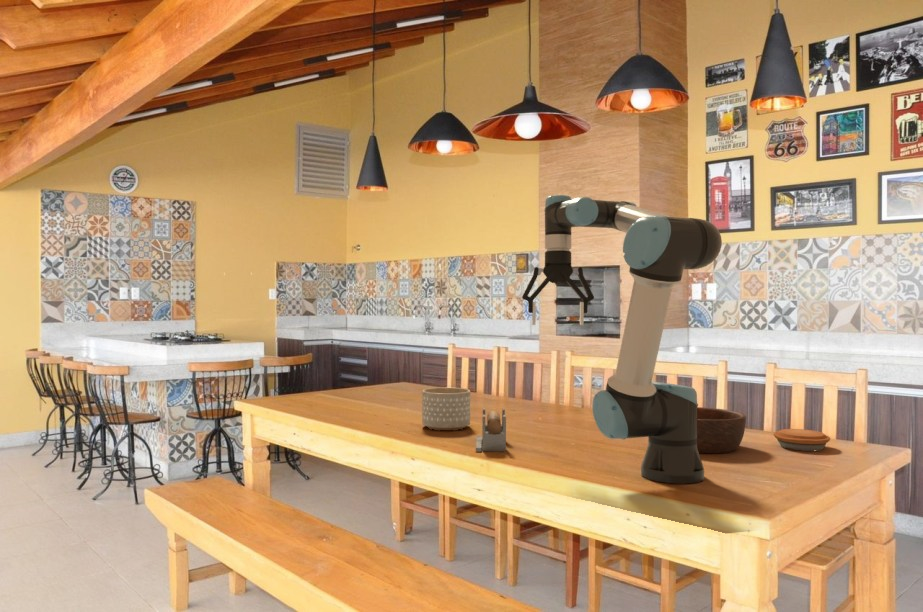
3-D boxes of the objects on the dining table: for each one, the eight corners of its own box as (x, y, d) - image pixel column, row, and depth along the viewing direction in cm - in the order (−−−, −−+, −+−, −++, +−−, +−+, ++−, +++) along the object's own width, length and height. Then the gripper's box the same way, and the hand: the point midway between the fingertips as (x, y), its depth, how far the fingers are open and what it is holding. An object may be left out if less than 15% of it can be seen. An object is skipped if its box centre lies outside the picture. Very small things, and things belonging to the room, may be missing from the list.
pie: (800, 441, 226) (800, 425, 226) (842, 451, 211) (842, 434, 211) (761, 444, 220) (761, 428, 220) (802, 454, 206) (802, 437, 206)
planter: (416, 430, 242) (416, 392, 241) (429, 422, 257) (430, 386, 257) (463, 432, 238) (464, 394, 238) (474, 424, 254) (474, 388, 253)
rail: (496, 437, 208) (503, 425, 208) (484, 430, 208) (491, 418, 208) (495, 425, 227) (502, 414, 227) (484, 419, 227) (491, 408, 227)
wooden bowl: (688, 458, 201) (688, 421, 200) (642, 441, 225) (642, 408, 224) (764, 453, 207) (764, 418, 207) (712, 437, 231) (712, 405, 231)
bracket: (506, 452, 207) (506, 417, 207) (475, 451, 208) (475, 417, 208) (504, 439, 226) (504, 407, 226) (476, 439, 227) (476, 407, 227)
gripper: (599, 251, 209) (599, 324, 209) (513, 251, 210) (513, 324, 210) (604, 249, 202) (603, 325, 202) (514, 249, 202) (514, 325, 203)
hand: (557, 324), depth 206 cm, fingers open, 13 cm apart
